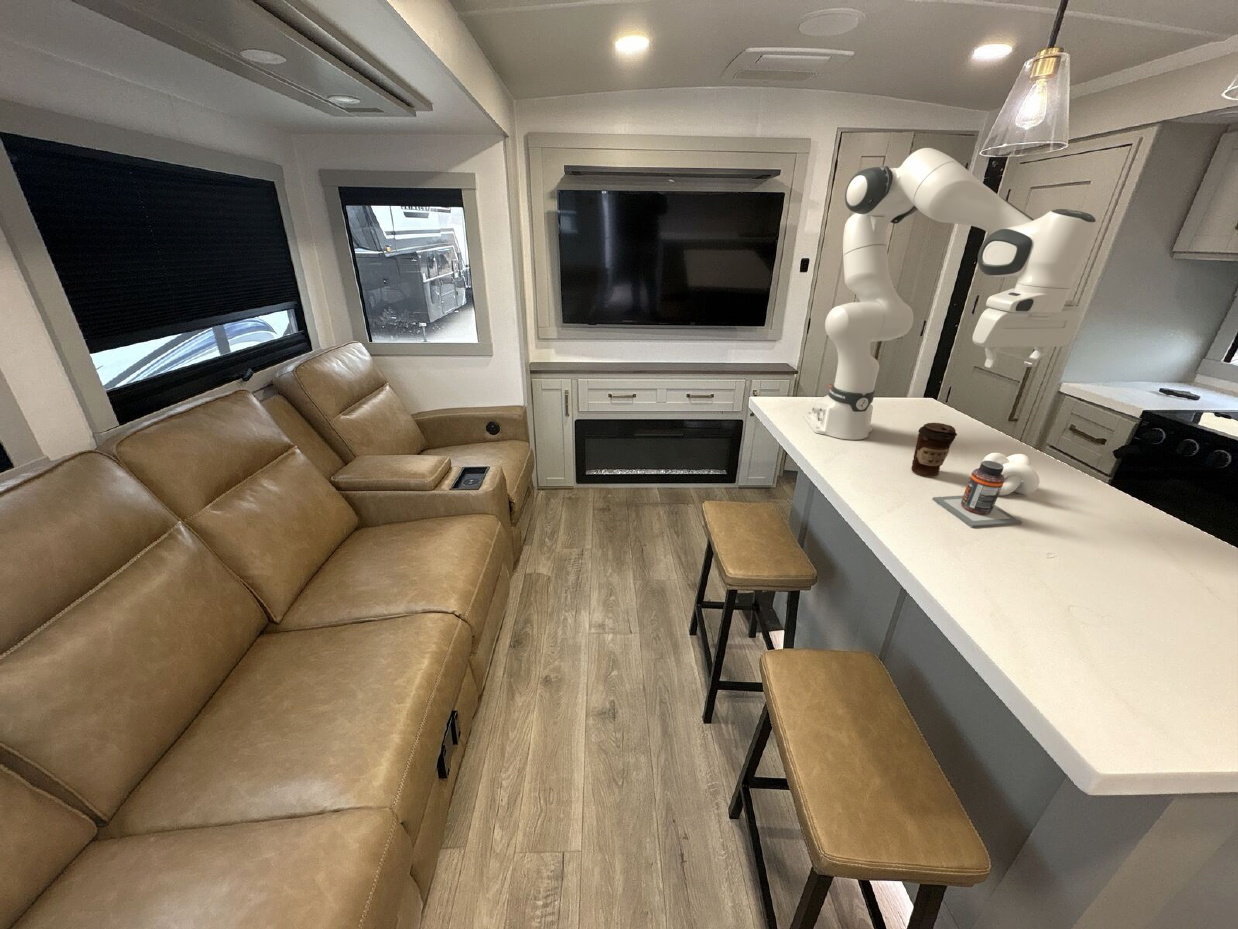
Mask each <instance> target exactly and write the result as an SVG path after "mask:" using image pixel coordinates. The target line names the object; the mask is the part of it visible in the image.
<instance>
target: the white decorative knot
mask: <svg viewBox="0 0 1238 929" xmlns="http://www.w3.org/2000/svg"><path fill="white" fill-rule="evenodd" d="M983 461H993V462H997V463H999V464H1001V465H1003V466H1004V468H1003V472H1002V473H1001V474H1002V475H1003V476H1004V479H1005V480H1004V483H1003V486H1002V488H1001V490H1000V493H999V495H998V496H1006V495H1010V494H1011V493H1013V492H1014V493H1017V494H1020V495H1028V494H1032V493H1034V492H1035V491H1037V489H1038V488H1039V484H1040V482H1041V481H1040V477H1039V474H1038V473H1037V471H1036V470H1035V469H1034V468H1033V467H1032V466H1031V459H1030V458H1029V457H1028V456H1027V455H1025V454H1024V453H1023V454H1021V453H1015V454H1012V455H1008V456H1006V455H1005V454H1003V453H999V452H992V453H989V454H987V455H985V456H984V458H983V459H982V461H981V463H982V462H983ZM981 463H980V464H981Z"/></svg>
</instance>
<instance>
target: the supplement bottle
mask: <svg viewBox="0 0 1238 929" xmlns="http://www.w3.org/2000/svg"><path fill="white" fill-rule="evenodd" d="M981 462H982V461H981ZM1003 468H1004V466H1003V465H1001V464H999V463H997V462H993V461H983V462H982V463H980V465H979V468H976V469H974V470H972V472H971V474H970V477H969V480H968V481H967V485H966V487H965V491H964V492H963V498H962V500H961V505H962V507H963V508H965V509H966V510H968V511H970V512H973V513H976V514H983V515H985V514H989V513H991V511H992V509H993V507H994V505H996V502H997V500H998V498H999V496H1000V495H999V493H1000V490H1001V488H1002V486H1003V483H1004V480H1005V479H1004V476H1003V475H1002V474H1001V473H1002V472H1003Z"/></svg>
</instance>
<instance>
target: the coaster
mask: <svg viewBox="0 0 1238 929" xmlns="http://www.w3.org/2000/svg"><path fill="white" fill-rule="evenodd" d="M963 495H964V494H963ZM963 495H949V496H936V497H935V496H934V497H932V499H931V500H932V501H934V502H935V503H936V504H938V505H939V506H941V507H942V508H943V509H945V510H946V511H948V512H949V513H950V514H952V515H953V516H955V517H956V518H958V519H959V520H960V521H961V522H963V523H964V524H966V525H967V526H968V527H970V528H971V529H973V528H974V529H975V528H987V527H988V528H989V527H1001V526H1012V525H1013V526H1014V525H1022V523H1023V521H1022V520H1020V519H1018V518H1017V517H1015V516H1013V515H1012V514H1010V513H1009V512H1008V511H1005V510H1004V509H1003V508H1001V507H999V506H997V505H996V504H995V505H994V507H993V509H992V511H991V513H989V514H985V515H983V514H976V513H973V512H970V511H968V510H966V509H965V508H963V507H962V505H961V500H962V498H963Z"/></svg>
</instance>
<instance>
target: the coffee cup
mask: <svg viewBox="0 0 1238 929" xmlns="http://www.w3.org/2000/svg"><path fill="white" fill-rule="evenodd" d="M917 432H918V435H917V439H916V445H915V449H914V453H913V454H914V455H913V459H912V464H911V467H910V468H911V472H912V473H914V474H916V475H919V476H921V477H922V476H923V477H927V478H937V477H938V476H940V470H941V466H942V465H943V464H944V463H945V462H944V461H945V460H946V459H947V456H948V454H949V452H950V447H951V445H952V443H953V442H954V440H955V439H956V437H957V436H958V434H957V432H956V428H955V427H953V426H952V425H950V424H945V423H940V422H927V423H925V424H923V426H921V427H920V428H919V429H918V431H917Z"/></svg>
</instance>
